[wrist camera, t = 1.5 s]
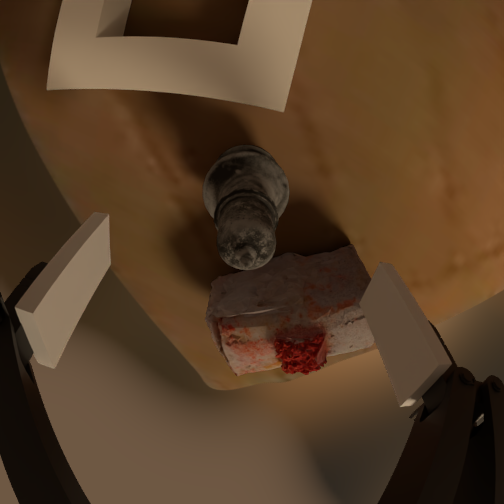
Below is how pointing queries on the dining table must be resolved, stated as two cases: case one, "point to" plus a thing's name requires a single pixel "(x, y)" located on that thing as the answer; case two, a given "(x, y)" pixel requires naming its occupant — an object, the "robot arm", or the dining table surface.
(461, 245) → the dining table surface
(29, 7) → the dining table surface
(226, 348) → the food item
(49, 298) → the robot arm
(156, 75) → the square frame
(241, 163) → the dark chess piece
